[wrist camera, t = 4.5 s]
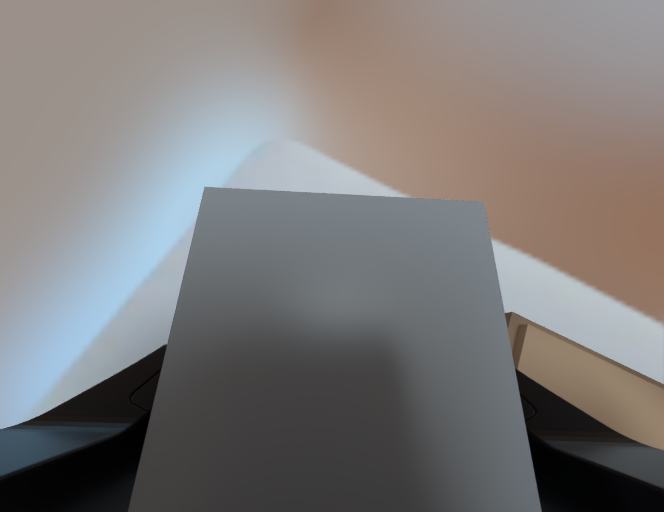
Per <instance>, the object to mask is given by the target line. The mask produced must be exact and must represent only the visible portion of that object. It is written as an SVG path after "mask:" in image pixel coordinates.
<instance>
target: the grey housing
mask: <svg viewBox="0 0 664 512" xmlns="http://www.w3.org/2000/svg"><path fill="white" fill-rule="evenodd" d="M128 512H542V511H541V506H540V500H539V495H538V490H537V484H536V479H535V474H534V468H533V463H532V458H531V452H530V447H529V441H528V436H527V431H526V425H525V420H524V415H523V409H522V404H521V399H520V393H519V388H518V382H517V377H516V372H515V366H514V361H513V356H512V350H511V345H510V340H509V334H508V329H507V323H506V318H505V313H504V307H503V302H502V297H501V291H500V286H499V281H498V275H497V270H496V264H495V259H494V254H493V248H492V243H491V238H490V232H489V227H488V222H487V216H486V211H485V205H484V202H478V201H459V200H441V199H422V198H403V197H384V196H365V195H346V194H327V193H308V192H290V191H271V190H252V189H233V188H214V187H205V188H204V192H203V196H202V200H201V204H200V208H199V213H198V217H197V221H196V225H195V230H194V234H193V238H192V242H191V247H190V251H189V255H188V259H187V263H186V268H185V272H184V276H183V280H182V285H181V289H180V293H179V297H178V301H177V306H176V310H175V314H174V318H173V323H172V327H171V331H170V335H169V340H168V344H167V348H166V352H165V356H164V361H163V365H162V369H161V373H160V378H159V382H158V386H157V390H156V394H155V399H154V403H153V407H152V411H151V416H150V420H149V424H148V428H147V433H146V437H145V441H144V445H143V449H142V454H141V458H140V462H139V466H138V471H137V475H136V479H135V483H134V488H133V492H132V496H131V500H130V504H129V509H128Z"/></svg>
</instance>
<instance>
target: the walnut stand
mask: <svg viewBox="0 0 664 512" xmlns="http://www.w3.org/2000/svg"><path fill="white" fill-rule="evenodd" d="M505 318H506V323H507V329H508V334H509V340H510V345H511V350H512V356H513V361H514V366H515V368H516V369H518V370H519V371H520V372H522V373H523V374H525V375H526V376H528V377H529V378H531V379H533V380H534V381H536V382H537V383H539V384H540V385H542V386H544V387H545V388H547V389H548V390H550V391H551V392H553V393H555V394H556V395H558V396H560V397H561V398H563V399H564V400H566V401H568V402H569V403H571V404H572V405H574V406H576V407H577V408H579V409H581V410H582V411H584V412H585V413H587V414H589V415H590V416H592V417H594V418H595V419H597V420H598V421H600V422H602V423H603V424H605V425H606V426H608V427H610V428H612V429H613V430H615V431H617V432H618V433H620V434H622V435H624V436H627V437H629V438H631V439H633V440H635V441H638V442H640V443H643V444H646V445H648V446H651V447H654V448H658V449H661V450H664V384H662V383H660V382H657V381H655V380H653V379H651V378H649V377H647V376H645V375H643V374H641V373H639V372H637V371H634V370H632V369H630V368H628V367H626V366H624V365H622V364H620V363H618V362H616V361H614V360H612V359H609V358H607V357H605V356H603V355H601V354H599V353H597V352H595V351H593V350H591V349H589V348H586V347H584V346H582V345H580V344H578V343H576V342H574V341H572V340H570V339H568V338H566V337H564V336H561V335H559V334H557V333H555V332H553V331H551V330H549V329H547V328H545V327H543V326H541V325H538V324H536V323H534V322H532V321H530V320H528V319H526V318H524V317H522V316H520V315H518V314H516V313H513V312H509V313H505Z"/></svg>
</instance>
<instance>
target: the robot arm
mask: <svg viewBox="0 0 664 512" xmlns="http://www.w3.org/2000/svg"><path fill="white" fill-rule="evenodd" d="M167 344H168V343H167ZM166 348H167V345H166V344H165V345H163V346H162V347H160V348H159V349H157V350H155V351H154V352H152V353H151V354H149V355H147V356H146V357H144V358H143V359H141V360H139V361H138V362H136V363H134V364H133V365H131V366H129V367H127V368H126V369H124V370H122V371H120V372H119V373H117V374H115V375H113V376H111V377H110V378H108V379H106V380H104V381H102V382H101V383H99V384H97V385H95V386H93V387H92V388H90V389H88V390H86V391H84V392H82V393H81V394H79V395H77V396H75V397H73V398H72V399H70V400H68V401H66V402H64V403H63V404H61V405H59V406H57V407H55V408H53V409H52V410H50V411H48V412H46V413H44V414H42V415H40V416H38V417H35V418H33V419H31V420H28V421H26V422H23V423H20V424H17V425H14V426H11V427H7V428H4V429H0V512H128V509H129V504H130V500H131V496H132V492H133V488H134V483H135V479H136V475H137V471H138V466H139V462H140V458H141V454H142V449H143V445H144V441H145V437H146V433H147V428H148V424H149V420H150V416H151V411H152V407H153V403H154V399H155V394H156V390H157V386H158V382H159V378H160V373H161V369H162V365H163V361H164V356H165V352H166ZM515 372H516V377H517V382H518V388H519V393H520V399H521V404H522V409H523V415H524V420H525V425H526V431H527V436H528V441H529V447H530V452H531V458H532V463H533V468H534V474H535V479H536V484H537V490H538V495H539V500H540V506H541V511H542V512H664V450H661V449H658V448H654V447H651V446H648V445H646V444H643V443H640V442H638V441H635V440H633V439H631V438H629V437H627V436H624V435H622V434H620V433H618V432H617V431H615V430H613V429H612V428H610V427H608V426H606V425H605V424H603V423H602V422H600V421H598V420H597V419H595V418H594V417H592V416H590V415H589V414H587V413H585V412H584V411H582V410H581V409H579V408H577V407H576V406H574V405H572V404H571V403H569V402H568V401H566V400H564V399H563V398H561V397H560V396H558V395H556V394H555V393H553V392H551V391H550V390H548V389H547V388H545V387H544V386H542V385H540V384H539V383H537V382H536V381H534V380H533V379H531V378H529V377H528V376H526V375H525V374H523V373H522V372H520V371H519V370H518V369H516V368H515Z"/></svg>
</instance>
